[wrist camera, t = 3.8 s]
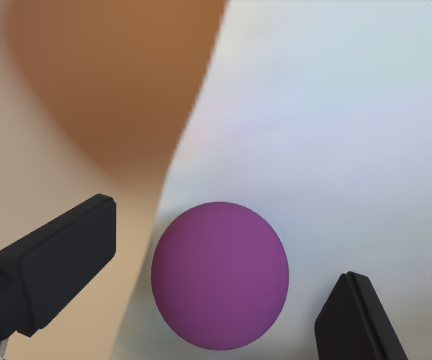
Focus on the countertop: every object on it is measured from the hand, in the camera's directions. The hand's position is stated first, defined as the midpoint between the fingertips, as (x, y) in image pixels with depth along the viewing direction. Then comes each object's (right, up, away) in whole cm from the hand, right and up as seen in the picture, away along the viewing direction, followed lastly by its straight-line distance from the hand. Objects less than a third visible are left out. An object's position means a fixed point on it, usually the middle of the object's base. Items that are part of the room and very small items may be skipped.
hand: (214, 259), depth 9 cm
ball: (+1, +1, +2) cm, 2 cm away
